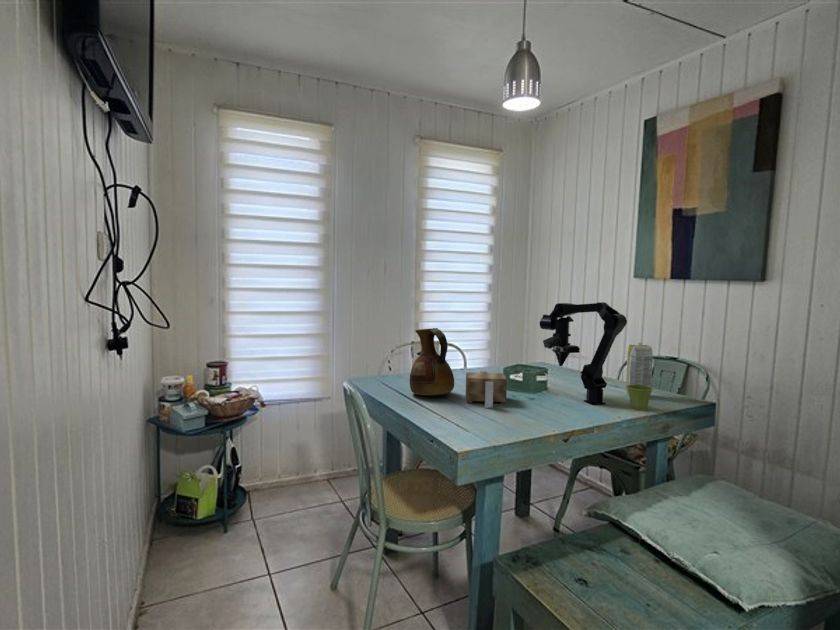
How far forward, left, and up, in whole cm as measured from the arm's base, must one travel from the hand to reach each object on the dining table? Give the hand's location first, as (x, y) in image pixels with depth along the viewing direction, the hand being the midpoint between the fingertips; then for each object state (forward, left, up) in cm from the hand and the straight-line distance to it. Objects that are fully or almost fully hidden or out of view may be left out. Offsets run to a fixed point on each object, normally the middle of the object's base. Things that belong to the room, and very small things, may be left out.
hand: (560, 366), depth 208 cm
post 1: (+10, +33, -13) cm, 37 cm away
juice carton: (-11, -33, -13) cm, 37 cm away
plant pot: (-28, -18, -13) cm, 36 cm away
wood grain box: (0, +37, -13) cm, 39 cm away
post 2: (-11, +40, -13) cm, 44 cm away
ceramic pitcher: (+14, +56, -13) cm, 59 cm away
